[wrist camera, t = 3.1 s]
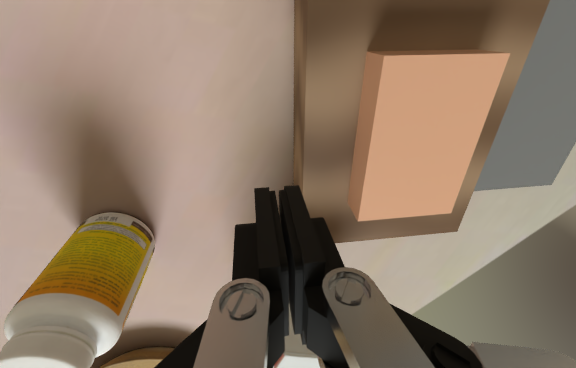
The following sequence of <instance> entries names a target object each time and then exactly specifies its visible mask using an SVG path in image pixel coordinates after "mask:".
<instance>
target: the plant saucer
mask: <svg viewBox="0 0 576 368" xmlns="http://www.w3.org/2000/svg"><path fill="white" fill-rule="evenodd" d="M174 349H175V348H169V347H149V348H142V349H137V350H133V351H130V352H127V353H125V354H123V355H120V356H118V357H116V358H114V359H113V360H111V361H109V362H107V363H106V364H104V365H103V366H101V367H100V368H154V367H155V366H156V365H157V364H158V363H160V362H161V361H162V360H163V359H164V358H165V357H166V356H167V355H168V354H170V353H171V352H172V351H173V350H174Z"/></svg>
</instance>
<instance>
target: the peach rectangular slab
mask: <svg viewBox="0 0 576 368" xmlns="http://www.w3.org/2000/svg"><path fill="white" fill-rule="evenodd" d="M509 56H510V53H505V52H496V51H488V50H479V49H473V50H419V51H367V53H366V61H365V69H364V77H363V84H362V92H361V100H360V108H359V116H358V124H357V131H356V139H355V147H354V155H353V163H352V170H351V178H350V186H349V194H348V202H347V203H348V205H349V206H350V208H351V210H352V212H353V214H354V215H355V217H356V219H357V221H369V220H381V219H392V218H403V217H415V216H426V215H437V214H449V213H451V212H452V210H453V207H454V204H455V201H456V199H457V196H458V193H459V191H460V188H461V185H462V183H463V180H464V177H465V175H466V172H467V169H468V166H469V164H470V161H471V158H472V156H473V153H474V150H475V148H476V145H477V142H478V139H479V137H480V134H481V131H482V129H483V126H484V123H485V121H486V118H487V115H488V112H489V110H490V107H491V104H492V102H493V99H494V96H495V94H496V91H497V88H498V86H499V83H500V80H501V77H502V75H503V72H504V69H505V67H506V64H507V61H508V59H509Z"/></svg>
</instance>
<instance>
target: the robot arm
mask: <svg viewBox="0 0 576 368" xmlns="http://www.w3.org/2000/svg"><path fill="white" fill-rule="evenodd" d="M254 192H255V210H256V223H250V224H239V225H235V239H234V257H233V275H232V281H231V282H229V283H227V284H226V285H224V286H223V287H222V288H221V289H220V290H219V291H218V292H217V294H216V296H215V298H214V300H213V303H212V306H211V310H210V313H209V316H208V319H207V320H206V321H205V322H204V323H203V324H202V325H201V326H199V327H198V328H197V329H196V330H195V331H194V332H193V333H192V334H191V335H189V336H188V337H187V338H186V339H185V340H184V341H183V342H182V343H181V344H180V345H178V346H177V347H176V348H175V349H174V350H173V351H172V352H171V353H170V354H168V355H167V356H166V357H165V358H164V359H163V360H162V361H161V362H160V363H158V364H157V365H156V366H155V367H154V368H274V365H275V363H276V362H277V361H278V359H279V358H280V357H281V355H282V354H283V353H284V351H285V336H289V306H290V312H291V318H292V324H293V331H294V335H296V334H300V335H301V340H302V345H306V347H307V348H308V349H309V350H310V351H312V352H313V353H315V354H316V355H317V358H318V363H319V366H320V368H576V361H575V360H574V359H572V358H570V357H568V356H566V355H564V354H562V353H560V352H557V351H553V350H549V349H539V348H529V347H519V346H507V345H498V344H488V343H478V342H472V344H471V346H466V345H465V344H464V343H462V342H461V341H459V340H457V339H456V338H454V337H452V336H450V335H449V334H447V333H445V332H442V331H441V330H439V329H437V328H435V327H433V326H431V325H429V324H428V323H426V322H424V321H422V320H420V319H418V318H416V317H414V316H412V315H410V314H409V313H407V312H405V311H403V310H401V309H399V308H397V307H395V306H393V305H391V304H389V302H388V301H387V300H386V298H385V297H384V295H383V294H382V293H381V291H380V290H379V288H378V287H377V286H376V284H375V283H374V281H373V280H372V279H371V278H370V277H369V276H368V275H366V274H365V273H363V272H362V271H359V270H357V269H354V268H347V267H344V264H343V262H342V260H341V257H340V255H339V252H338V250H337V248H336V245H335V243H334V241H333V238H332V236H331V233H330V231H329V229H328V226H327V224H326V222H325V220H324V218H323V217H318V218H310V215H309V212H308V209H307V207H306V204H305V201H304V198H303V195H302V192H301V189H300V186H299V185H295V186H284V190H279V211H280V217H279V211H278V206H277V200H276V195H275V191H269V187H268V188H254Z"/></svg>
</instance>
